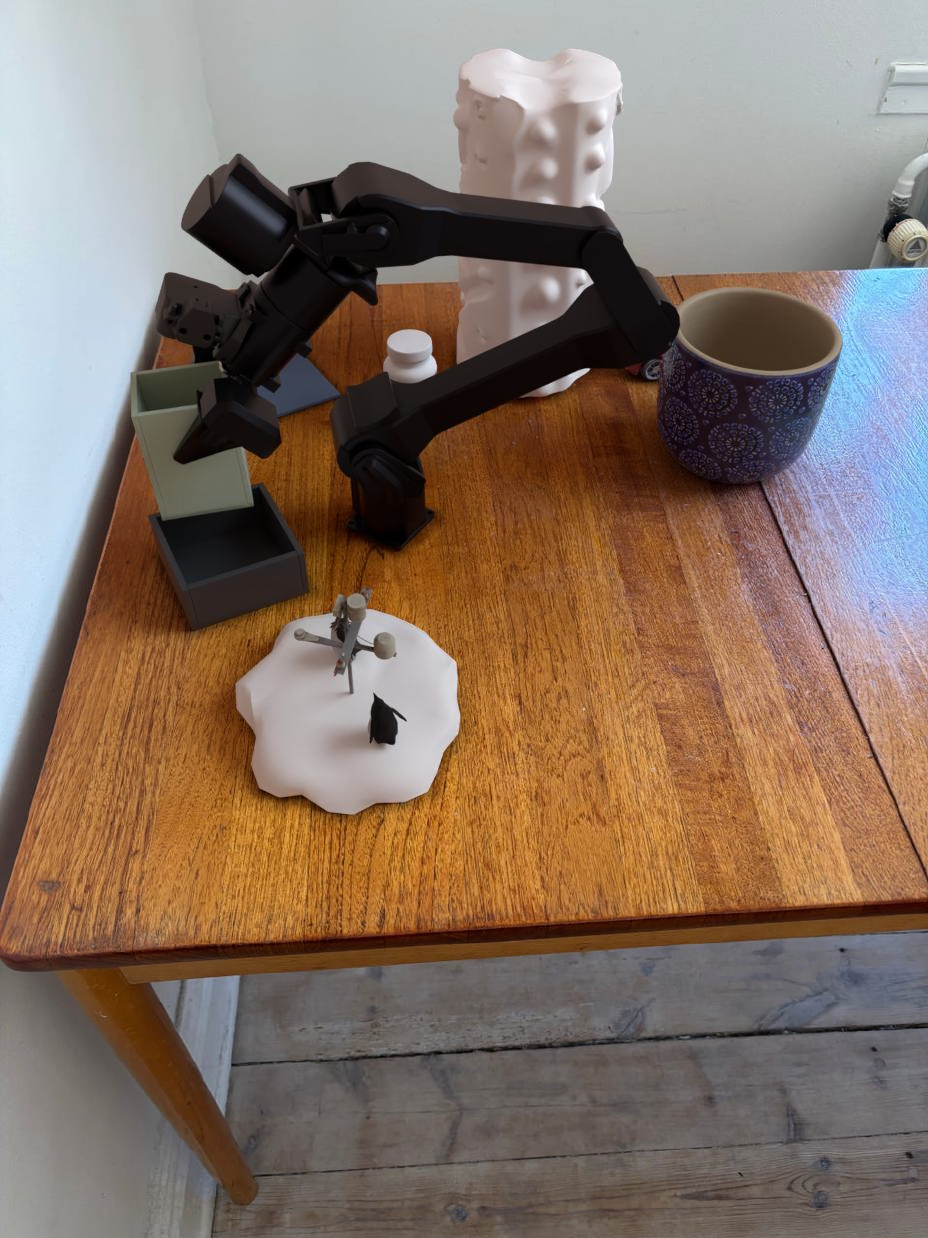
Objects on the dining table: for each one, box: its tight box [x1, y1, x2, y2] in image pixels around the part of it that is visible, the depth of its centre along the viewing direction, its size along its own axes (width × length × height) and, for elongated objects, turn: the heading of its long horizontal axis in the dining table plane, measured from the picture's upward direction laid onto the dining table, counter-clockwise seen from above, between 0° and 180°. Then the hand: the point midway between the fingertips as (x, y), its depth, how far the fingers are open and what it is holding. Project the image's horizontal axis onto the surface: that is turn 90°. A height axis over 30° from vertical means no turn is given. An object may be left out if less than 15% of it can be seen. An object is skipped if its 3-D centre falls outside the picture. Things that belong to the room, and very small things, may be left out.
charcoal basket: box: [147, 481, 311, 632], centre depth 92 cm, size 11×11×5 cm
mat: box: [257, 353, 342, 418], centre depth 115 cm, size 10×10×1 cm
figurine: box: [235, 586, 461, 816], centre depth 77 cm, size 20×18×16 cm
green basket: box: [129, 361, 254, 521], centre depth 87 cm, size 8×7×11 cm
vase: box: [452, 47, 625, 399], centre depth 108 cm, size 17×16×32 cm
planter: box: [655, 286, 844, 485], centre depth 102 cm, size 17×17×15 cm
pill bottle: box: [382, 328, 438, 384], centre depth 107 cm, size 6×6×10 cm
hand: (176, 436), depth 87 cm, fingers closed on green basket, 6 cm apart
